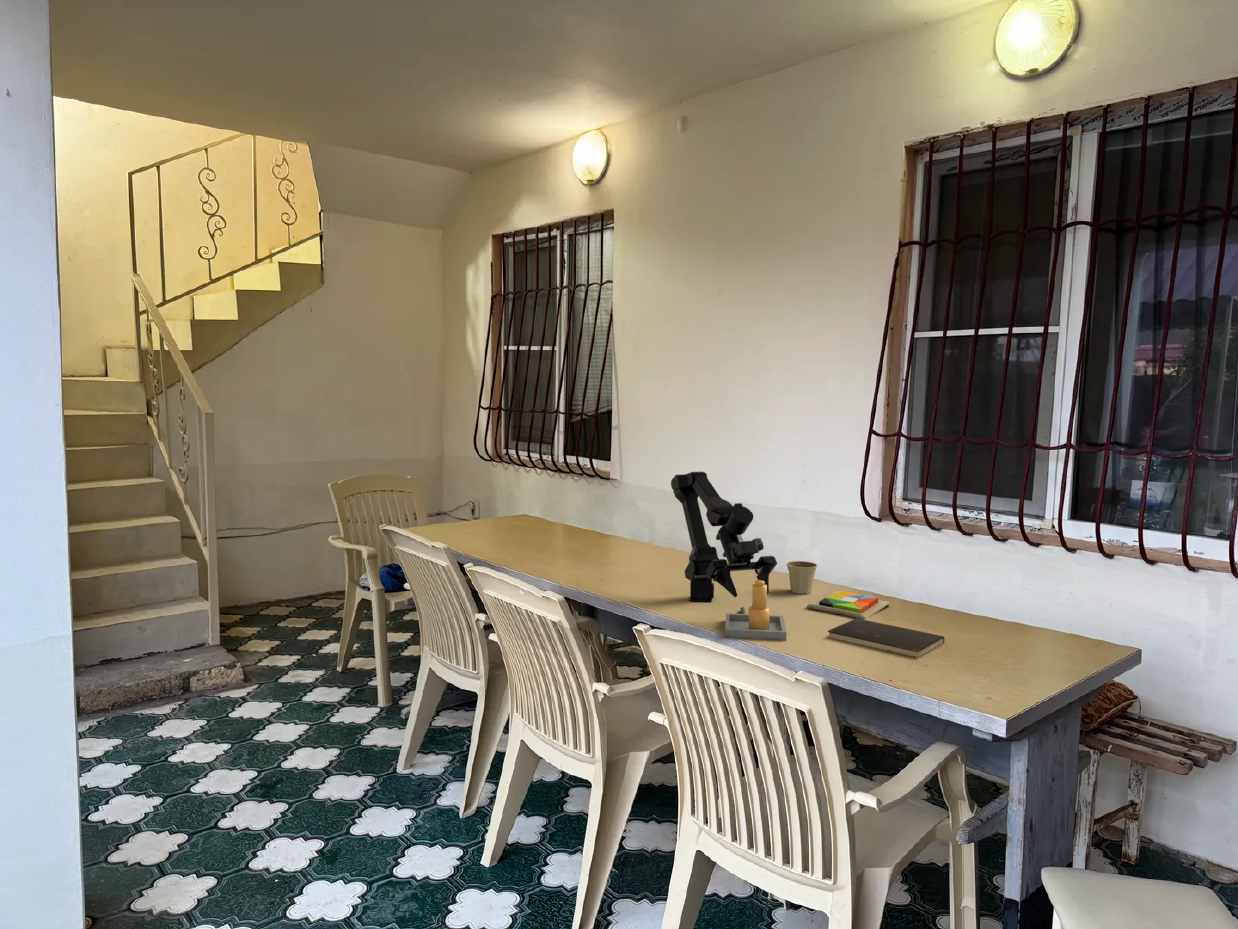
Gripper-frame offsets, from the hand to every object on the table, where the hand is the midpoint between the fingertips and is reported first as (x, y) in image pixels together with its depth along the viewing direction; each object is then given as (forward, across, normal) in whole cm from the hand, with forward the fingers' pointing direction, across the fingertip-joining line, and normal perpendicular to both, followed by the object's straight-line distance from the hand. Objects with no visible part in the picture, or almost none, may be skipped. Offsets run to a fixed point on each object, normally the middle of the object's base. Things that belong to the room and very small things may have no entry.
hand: (751, 595), depth 211 cm
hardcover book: (+21, +26, -8) cm, 34 cm away
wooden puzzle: (+1, +36, +13) cm, 38 cm away
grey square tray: (+8, 0, +4) cm, 9 cm away
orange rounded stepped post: (+8, 0, +3) cm, 9 cm away
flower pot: (-13, +33, +26) cm, 44 cm away
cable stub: (-1, +3, +13) cm, 14 cm away
